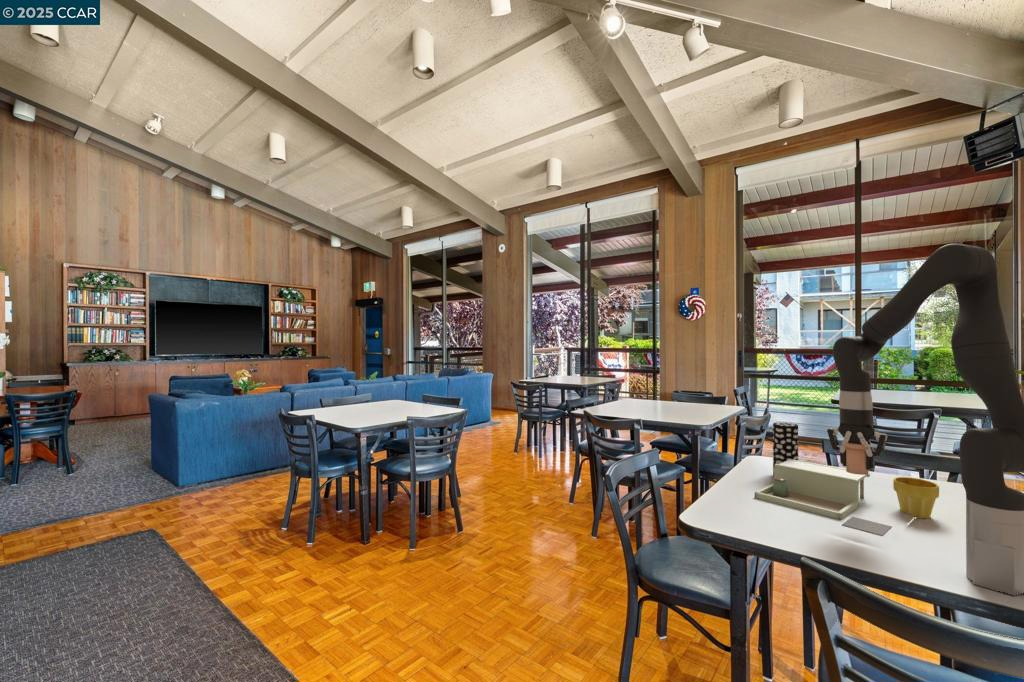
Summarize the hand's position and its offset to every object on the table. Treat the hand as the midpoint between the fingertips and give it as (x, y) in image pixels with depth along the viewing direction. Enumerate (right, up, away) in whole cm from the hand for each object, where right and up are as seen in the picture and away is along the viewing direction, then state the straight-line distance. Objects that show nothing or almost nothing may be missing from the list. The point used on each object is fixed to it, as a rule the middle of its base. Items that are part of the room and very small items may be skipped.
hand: (857, 467), depth 129 cm
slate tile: (+1, -16, -2) cm, 17 cm away
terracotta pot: (0, -1, 0) cm, 1 cm away
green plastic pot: (-8, -15, +23) cm, 29 cm away
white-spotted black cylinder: (+7, -16, +46) cm, 50 cm away
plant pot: (+23, -16, +8) cm, 30 cm away
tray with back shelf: (+1, -16, +21) cm, 26 cm away
